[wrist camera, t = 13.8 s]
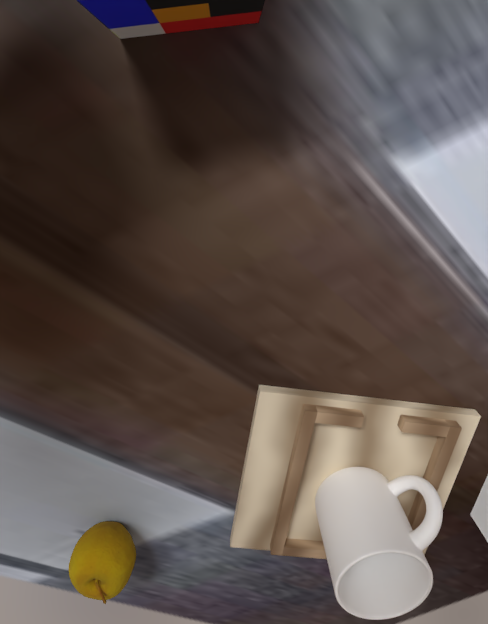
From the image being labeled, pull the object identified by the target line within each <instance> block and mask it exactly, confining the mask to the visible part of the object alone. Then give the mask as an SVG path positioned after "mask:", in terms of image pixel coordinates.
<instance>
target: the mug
mask: <svg viewBox="0 0 488 624" xmlns="http://www.w3.org/2000/svg"><path fill="white" fill-rule="evenodd" d="M411 489H413V490H417V491H418V492H420V493H421V494H422V496H423V497H424V500H425V503H426V514H425V517H424V520H423V521H422V523H421V524H420V525H419V526H418V527H417V528H416V529H415V530H412V527H411V525H410V523H409V521H408V519H407V517H406V515H405V512H404V510H403V508H402V506H401V504H400V502H399V500H398V498H397V496H399V495H400V494H402V493H403V492H405V491H408V490H411ZM315 508H316V514H317V519H318V523H319V527H320V531H321V536H322V540H323V544H324V549H325V553H326V557H327V562H328V566H329V570H330V574H331V579H332V583H333V587H334V592H335V596H336V599H337V601H338V603H339V604H340V605H341V607H342V608H343V609H344V610H346V611H347V612H348V613H350V614H352V615H354V616H357V617H360V618H364V619H370V620H383V619H390V618H394V617H398V616H401V615H403V614H406V613H408V612H410V611H411V610H413V609H415V608H416V607H417V606H419V605H420V604H421V603H422V602H423V601H424V600H425V599H426V597H427V596H428V595H429V593H430V591H431V588H432V584H433V574H432V571H431V568H430V566H429V564H428V562H427V560H426V558H425V556H424V553H423V550H424V549H425V548H426V547H428V546H429V545H430V544H431V542H432V541H433V540H434V539H435V537H436V536H437V534H438V532H439V530H440V527H441V524H442V518H443V508H442V503H441V499H440V497H439V495H438V493H437V491H436V489H435V488H434V487H433V485H432V484H431V483H429V482H428V481H427V480H425V479H424V478H422V477H419V476H416V475H405V476H400V477H398V478H395V479H393V480H392V481H390V482H389V481H388V480H387V479H386V477H385V476H383V475H382V474H381V473H379V472H377V471H375V470H373V469H370V468H366V467H348V468H344V469H341V470H339V471H336V472H334V473H333V474H331V475H330V476H328V477H327V478H326V479H325V480H324V481H323V482H322V483H321V485H320V486H319V488H318V490H317V493H316V497H315Z"/></svg>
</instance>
